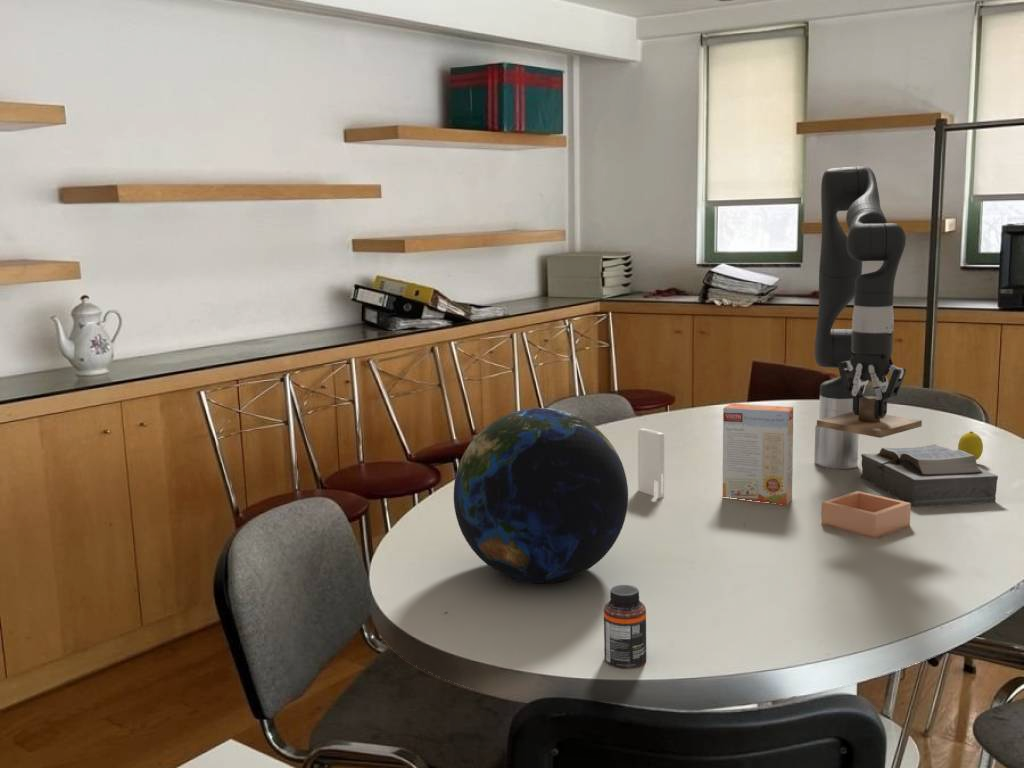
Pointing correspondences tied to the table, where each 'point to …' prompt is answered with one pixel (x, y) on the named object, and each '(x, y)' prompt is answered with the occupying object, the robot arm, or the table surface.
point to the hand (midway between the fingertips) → (869, 415)
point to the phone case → (650, 461)
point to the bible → (929, 476)
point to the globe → (540, 495)
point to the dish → (866, 514)
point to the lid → (869, 421)
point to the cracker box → (758, 452)
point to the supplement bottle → (625, 628)
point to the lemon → (971, 444)
